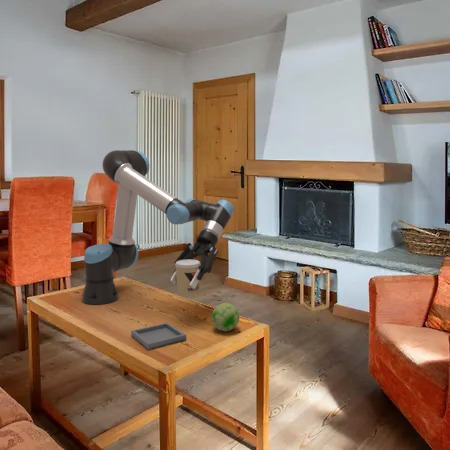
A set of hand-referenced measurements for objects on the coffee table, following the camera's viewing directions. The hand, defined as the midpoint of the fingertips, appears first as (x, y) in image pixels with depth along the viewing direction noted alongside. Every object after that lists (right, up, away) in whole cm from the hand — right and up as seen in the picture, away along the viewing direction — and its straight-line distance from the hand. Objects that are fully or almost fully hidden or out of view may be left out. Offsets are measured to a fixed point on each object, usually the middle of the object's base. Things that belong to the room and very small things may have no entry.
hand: (182, 284), depth 167 cm
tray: (-7, -17, -9) cm, 21 cm away
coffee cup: (+2, -4, +3) cm, 6 cm away
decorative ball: (+16, -16, -2) cm, 23 cm away
